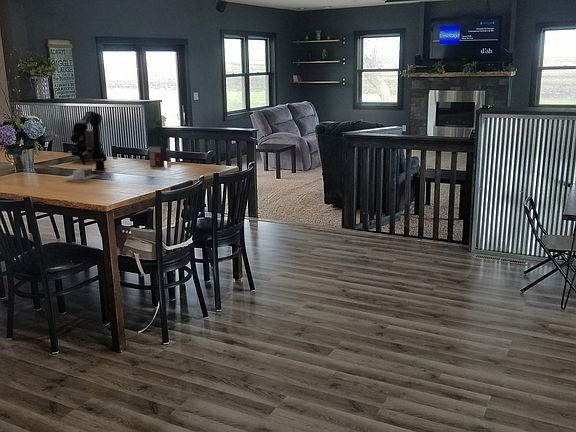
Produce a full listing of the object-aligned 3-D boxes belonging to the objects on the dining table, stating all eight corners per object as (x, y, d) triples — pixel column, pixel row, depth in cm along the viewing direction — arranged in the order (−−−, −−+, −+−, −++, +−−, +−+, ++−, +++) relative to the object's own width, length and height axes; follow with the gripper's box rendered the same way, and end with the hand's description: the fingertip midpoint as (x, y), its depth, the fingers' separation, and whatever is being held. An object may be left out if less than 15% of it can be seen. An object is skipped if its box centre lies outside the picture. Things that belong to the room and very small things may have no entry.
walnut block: (82, 168, 400) (72, 171, 389) (91, 168, 399) (82, 171, 388) (83, 174, 401) (73, 177, 390) (92, 174, 400) (83, 177, 389)
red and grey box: (149, 166, 436) (148, 146, 432) (152, 165, 439) (151, 145, 436) (161, 167, 431) (160, 147, 428) (164, 166, 435) (163, 146, 431)
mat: (75, 174, 402) (75, 174, 402) (99, 175, 398) (99, 174, 398) (61, 178, 386) (61, 178, 386) (86, 179, 383) (86, 179, 383)
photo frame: (85, 157, 482) (82, 127, 476) (103, 159, 470) (100, 128, 464) (70, 160, 469) (67, 128, 463) (88, 162, 458) (85, 130, 452)
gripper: (78, 139, 402) (80, 162, 406) (63, 142, 384) (65, 166, 388) (93, 140, 400) (95, 162, 404) (78, 143, 382) (80, 166, 386)
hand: (83, 164), depth 395 cm, fingers closed
